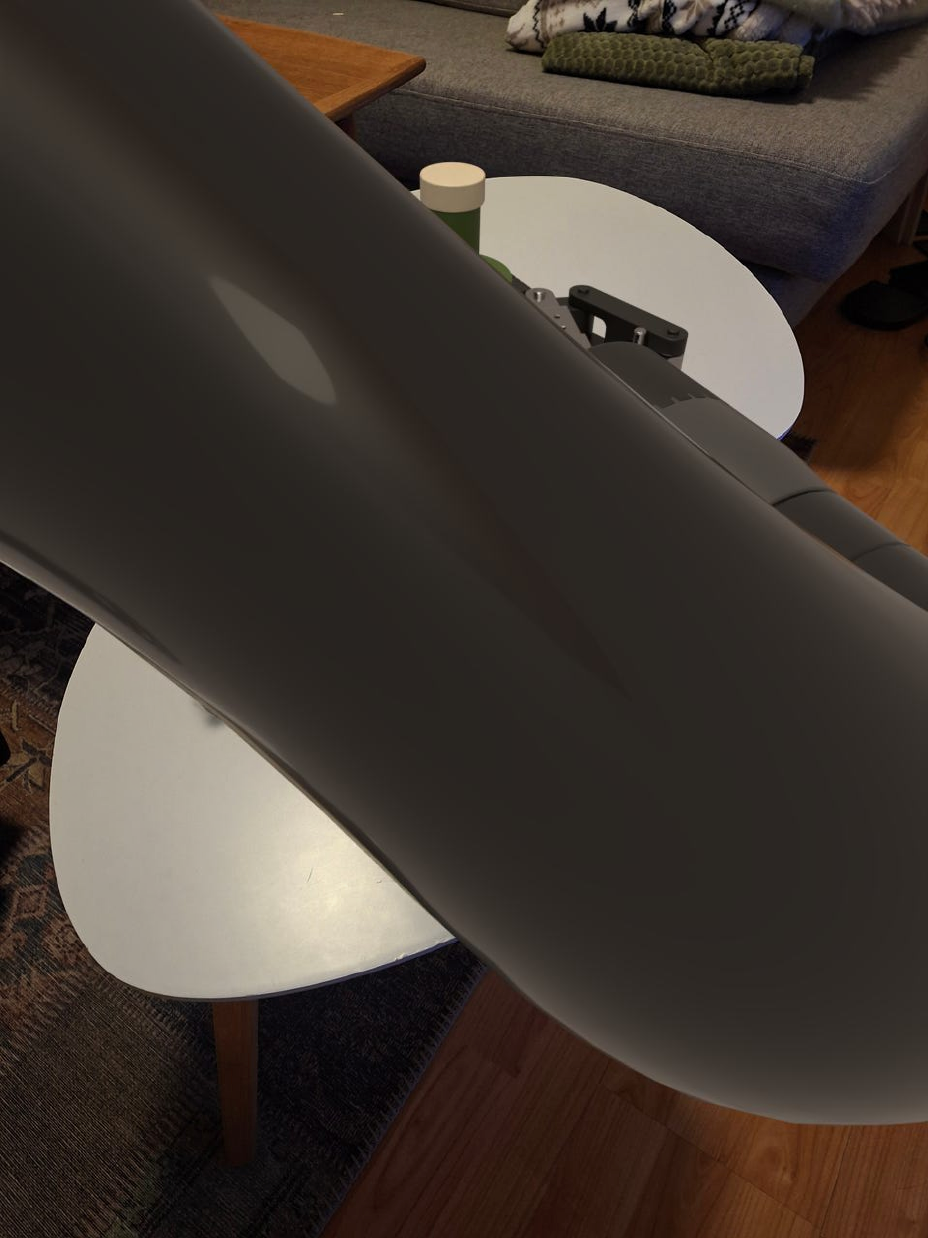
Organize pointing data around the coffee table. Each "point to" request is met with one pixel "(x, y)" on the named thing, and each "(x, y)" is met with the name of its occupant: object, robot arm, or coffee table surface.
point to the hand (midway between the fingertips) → (422, 296)
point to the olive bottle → (458, 201)
